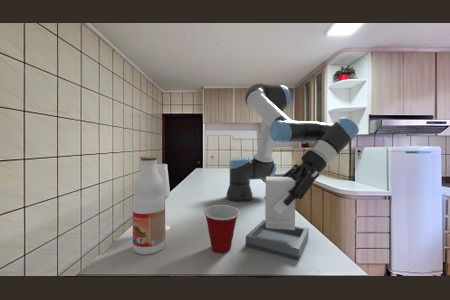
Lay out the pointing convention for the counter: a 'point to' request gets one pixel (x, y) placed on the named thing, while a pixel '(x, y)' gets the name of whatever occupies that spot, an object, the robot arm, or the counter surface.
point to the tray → (278, 240)
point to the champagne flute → (164, 175)
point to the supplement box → (274, 194)
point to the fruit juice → (148, 209)
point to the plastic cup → (221, 226)
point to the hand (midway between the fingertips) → (270, 205)
